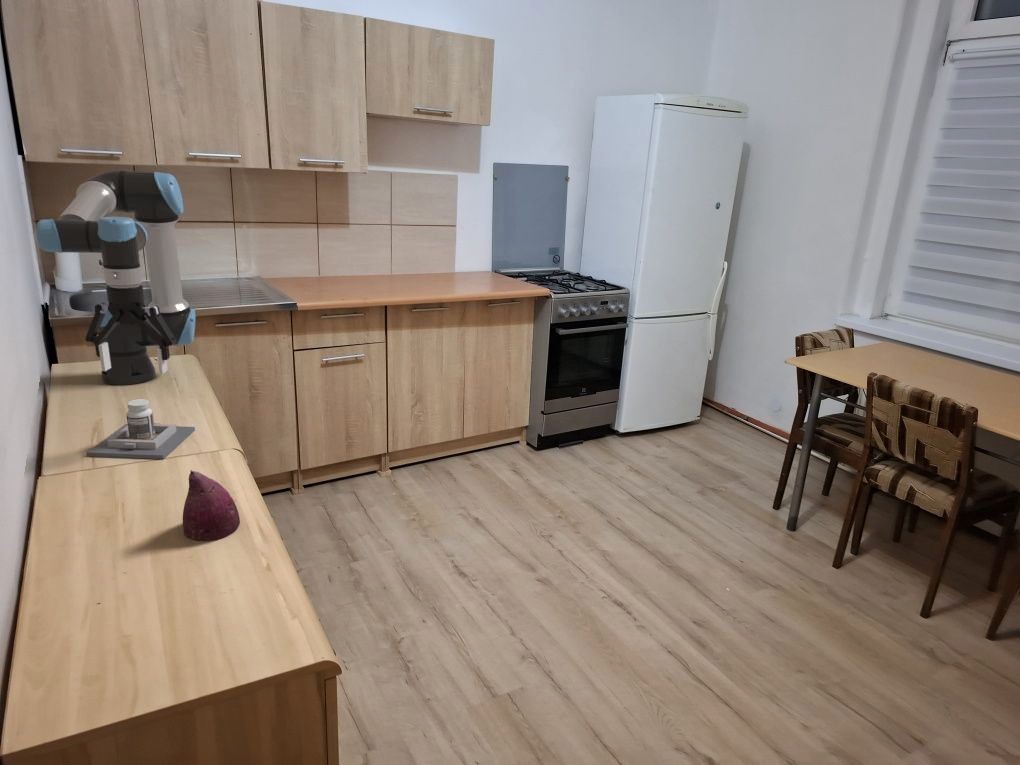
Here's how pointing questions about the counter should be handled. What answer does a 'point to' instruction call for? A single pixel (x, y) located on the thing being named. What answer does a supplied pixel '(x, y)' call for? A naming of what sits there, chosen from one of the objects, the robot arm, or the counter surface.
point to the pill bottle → (140, 420)
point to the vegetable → (208, 510)
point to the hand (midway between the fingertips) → (135, 371)
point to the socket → (142, 443)
